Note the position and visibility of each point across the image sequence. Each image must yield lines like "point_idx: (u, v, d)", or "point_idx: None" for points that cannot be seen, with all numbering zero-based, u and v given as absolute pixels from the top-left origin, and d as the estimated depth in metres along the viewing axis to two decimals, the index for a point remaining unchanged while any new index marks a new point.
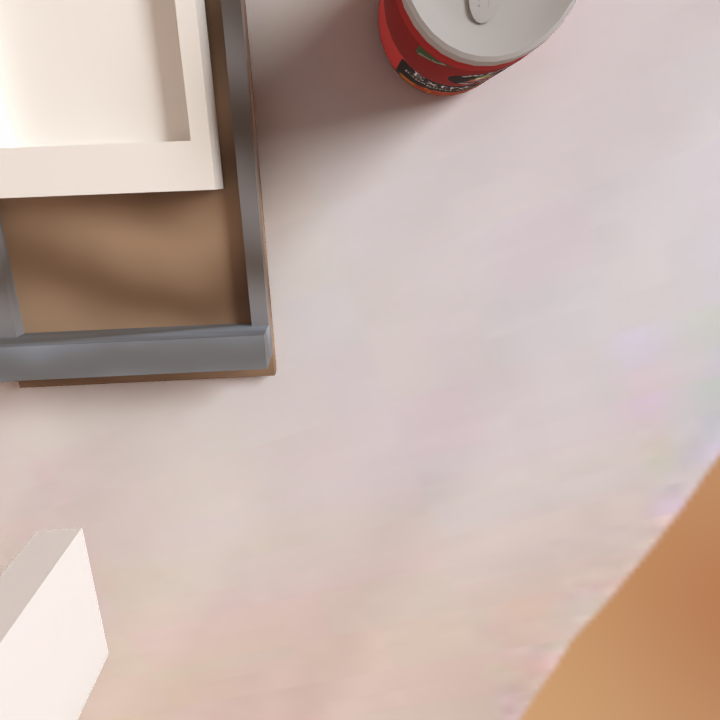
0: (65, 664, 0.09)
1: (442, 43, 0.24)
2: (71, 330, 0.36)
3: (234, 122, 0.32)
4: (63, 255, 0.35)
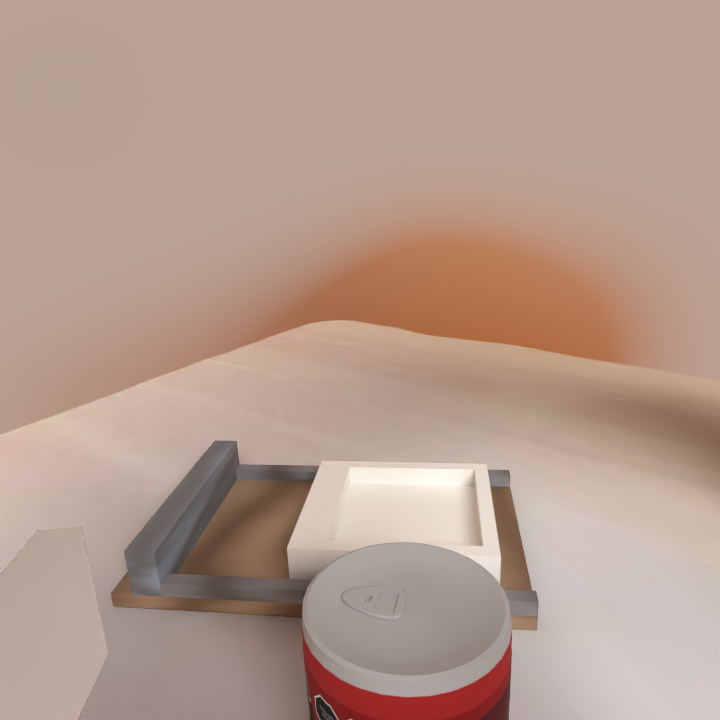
0: (65, 664, 0.09)
1: (331, 563, 0.25)
2: (226, 496, 0.50)
3: None
4: (278, 500, 0.49)
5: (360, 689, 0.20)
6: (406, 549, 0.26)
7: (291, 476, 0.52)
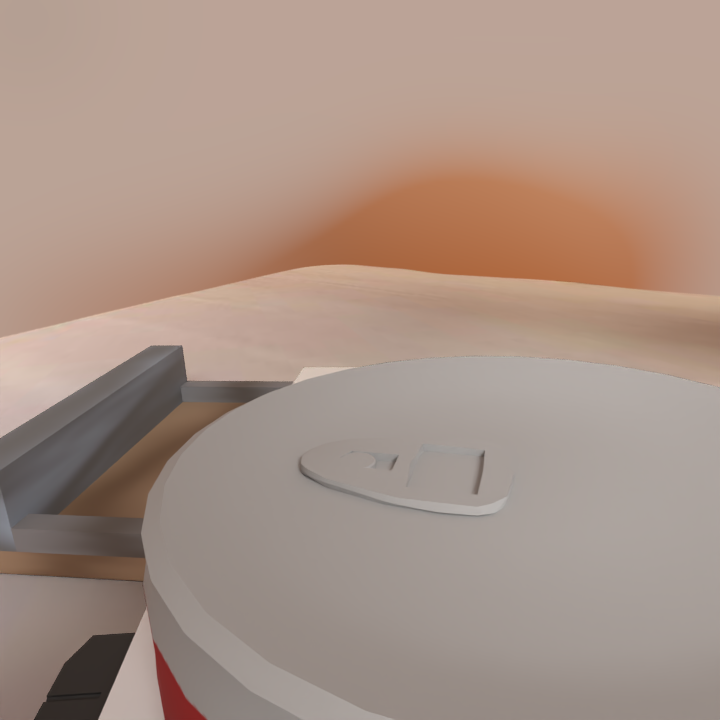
0: None
1: None
2: (162, 420, 0.34)
3: None
4: None
5: None
6: (483, 368, 0.10)
7: (260, 395, 0.35)
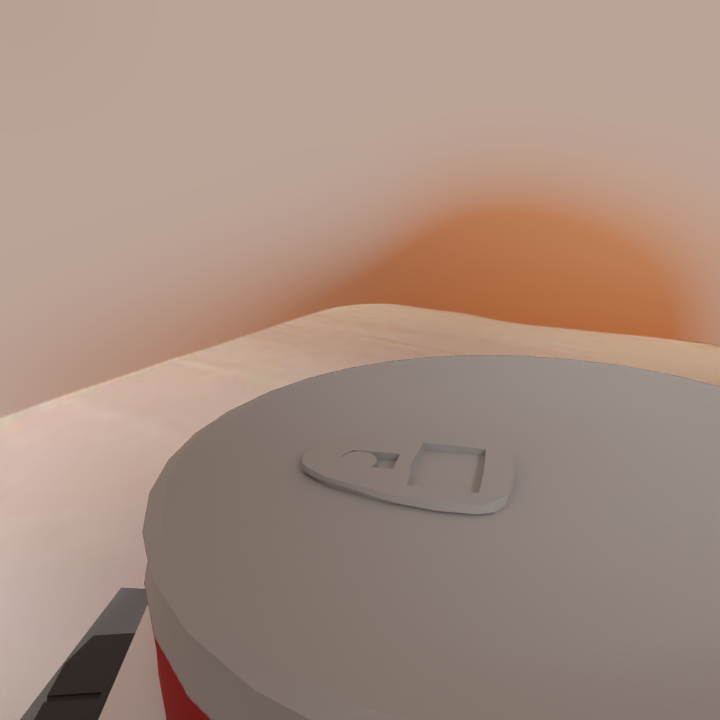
0: None
1: None
2: None
3: None
4: None
5: None
6: (484, 367, 0.10)
7: None
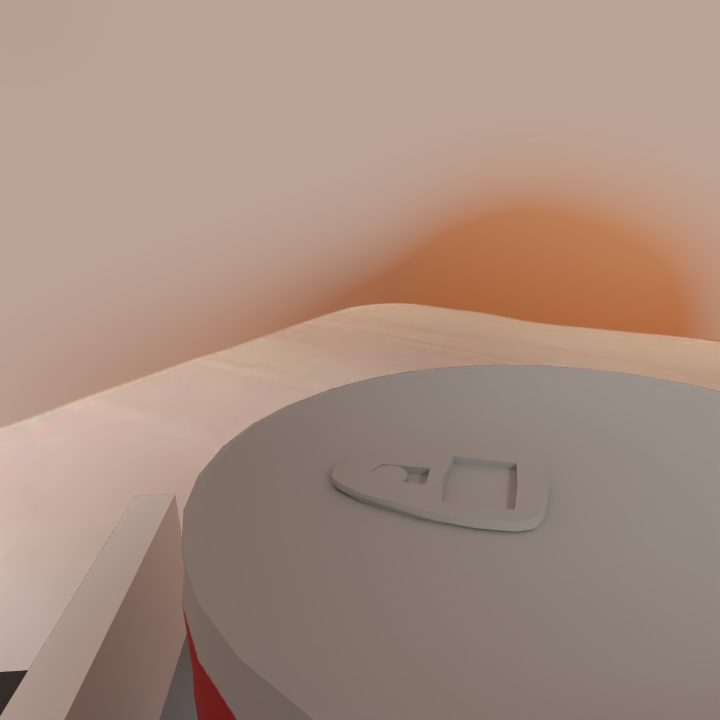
0: (167, 615, 0.10)
1: None
2: None
3: None
4: None
5: None
6: (505, 377, 0.10)
7: None
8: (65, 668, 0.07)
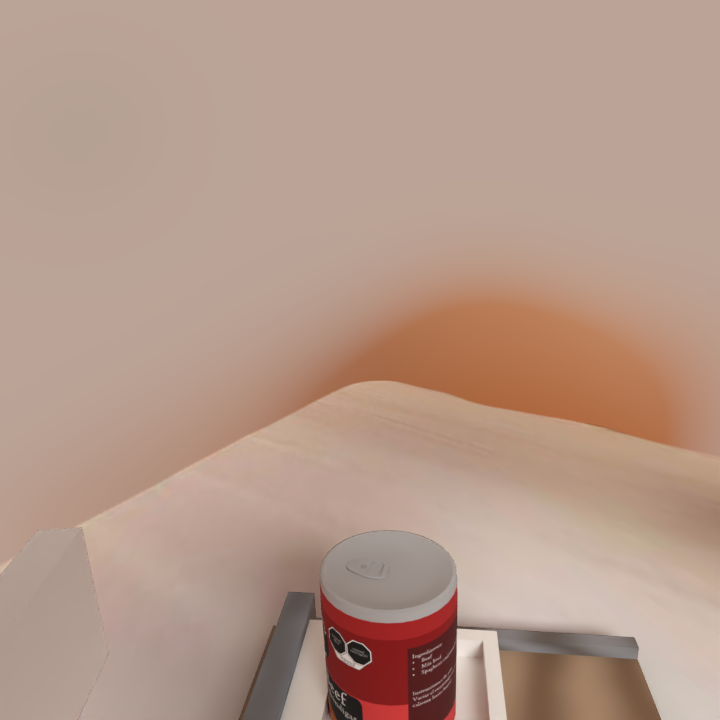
0: (65, 664, 0.09)
1: (338, 544, 0.37)
2: None
3: None
4: None
5: (358, 619, 0.31)
6: (390, 535, 0.38)
7: None
8: None
